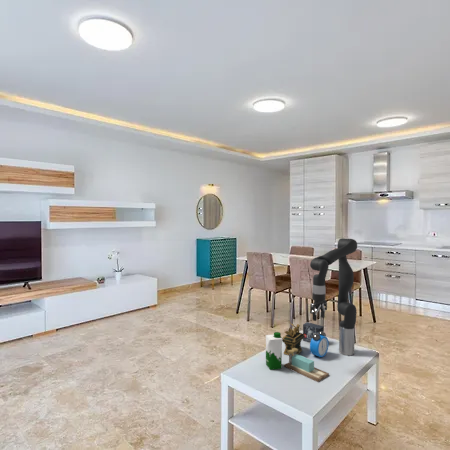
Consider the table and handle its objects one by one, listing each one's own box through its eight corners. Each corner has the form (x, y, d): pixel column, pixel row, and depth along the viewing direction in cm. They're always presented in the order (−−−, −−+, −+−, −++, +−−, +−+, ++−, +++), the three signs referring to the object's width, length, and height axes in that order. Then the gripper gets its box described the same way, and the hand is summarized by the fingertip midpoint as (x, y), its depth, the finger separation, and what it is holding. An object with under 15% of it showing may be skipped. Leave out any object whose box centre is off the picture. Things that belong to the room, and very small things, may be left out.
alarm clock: (317, 360, 197) (317, 336, 197) (309, 357, 202) (309, 333, 201) (328, 354, 206) (329, 331, 205) (320, 351, 210) (320, 329, 210)
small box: (302, 340, 229) (302, 324, 228) (306, 337, 234) (306, 321, 234) (319, 345, 220) (320, 328, 220) (323, 342, 225) (324, 325, 225)
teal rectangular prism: (296, 362, 192) (297, 354, 191) (314, 369, 182) (314, 361, 182) (291, 364, 188) (291, 356, 188) (308, 372, 179) (309, 363, 179)
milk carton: (283, 369, 185) (283, 335, 185) (268, 370, 183) (269, 336, 183) (277, 362, 194) (278, 330, 193) (263, 364, 192) (264, 331, 191)
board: (295, 361, 196) (295, 346, 196) (328, 375, 178) (329, 359, 178) (284, 366, 189) (284, 351, 188) (317, 382, 171) (318, 365, 171)
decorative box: (291, 346, 219) (291, 317, 218) (304, 349, 213) (305, 320, 213) (278, 356, 203) (278, 325, 202) (292, 360, 197) (292, 329, 196)
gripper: (320, 289, 197) (319, 315, 197) (306, 292, 188) (306, 320, 188) (331, 291, 191) (330, 318, 192) (317, 295, 182) (317, 323, 182)
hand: (318, 319), depth 190 cm, fingers open, 8 cm apart
